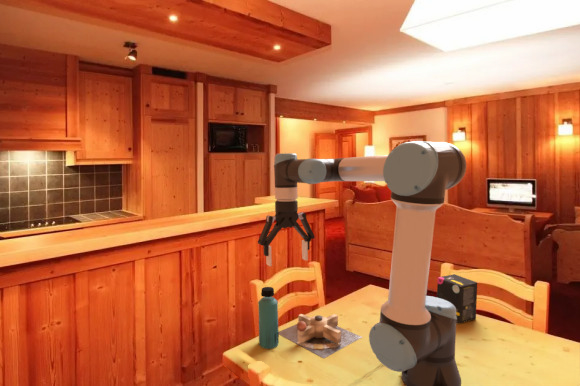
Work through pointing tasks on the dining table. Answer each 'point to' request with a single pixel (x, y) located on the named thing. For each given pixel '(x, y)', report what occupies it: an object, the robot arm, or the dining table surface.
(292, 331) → the stand
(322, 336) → the capstan
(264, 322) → the beverage bottle
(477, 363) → the dining table surface
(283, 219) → the robot arm
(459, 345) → the dining table surface
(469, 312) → the tampon box
